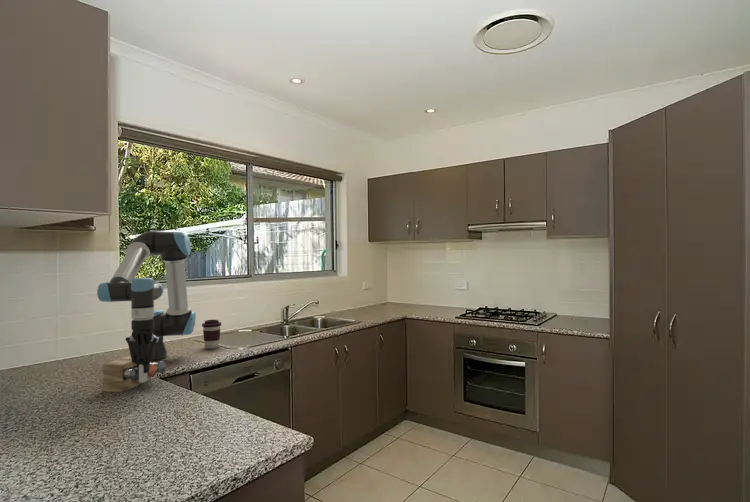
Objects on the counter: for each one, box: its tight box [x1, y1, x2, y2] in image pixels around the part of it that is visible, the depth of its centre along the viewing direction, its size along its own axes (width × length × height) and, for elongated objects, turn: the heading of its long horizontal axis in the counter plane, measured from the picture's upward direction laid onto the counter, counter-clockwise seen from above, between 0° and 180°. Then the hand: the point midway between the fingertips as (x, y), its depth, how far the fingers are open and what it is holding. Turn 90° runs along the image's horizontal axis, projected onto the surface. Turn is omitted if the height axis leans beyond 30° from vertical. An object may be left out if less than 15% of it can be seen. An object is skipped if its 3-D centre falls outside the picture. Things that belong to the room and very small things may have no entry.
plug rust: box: [133, 364, 158, 378], centre depth 164 cm, size 5×13×5 cm, turn 81°
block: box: [102, 355, 152, 393], centre depth 164 cm, size 16×8×10 cm, turn 171°
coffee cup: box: [201, 319, 222, 350], centre depth 232 cm, size 10×10×15 cm
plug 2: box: [149, 360, 167, 374], centre depth 169 cm, size 5×13×5 cm, turn 81°
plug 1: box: [123, 368, 139, 380], centre depth 159 cm, size 5×13×5 cm, turn 81°
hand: (143, 381), depth 158 cm, fingers closed
